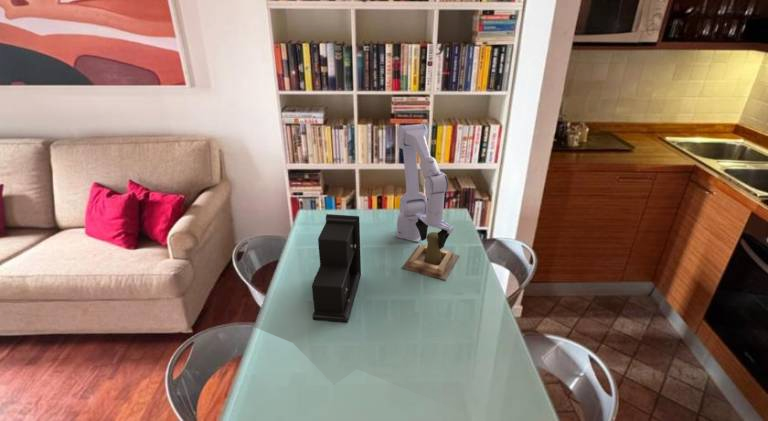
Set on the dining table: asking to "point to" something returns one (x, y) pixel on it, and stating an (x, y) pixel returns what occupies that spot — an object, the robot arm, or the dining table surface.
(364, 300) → the dining table surface
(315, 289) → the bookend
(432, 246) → the cork
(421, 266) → the socket block
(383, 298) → the dining table surface
